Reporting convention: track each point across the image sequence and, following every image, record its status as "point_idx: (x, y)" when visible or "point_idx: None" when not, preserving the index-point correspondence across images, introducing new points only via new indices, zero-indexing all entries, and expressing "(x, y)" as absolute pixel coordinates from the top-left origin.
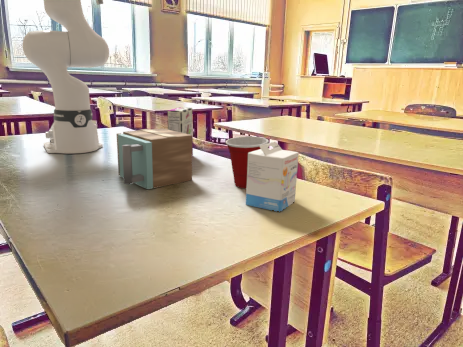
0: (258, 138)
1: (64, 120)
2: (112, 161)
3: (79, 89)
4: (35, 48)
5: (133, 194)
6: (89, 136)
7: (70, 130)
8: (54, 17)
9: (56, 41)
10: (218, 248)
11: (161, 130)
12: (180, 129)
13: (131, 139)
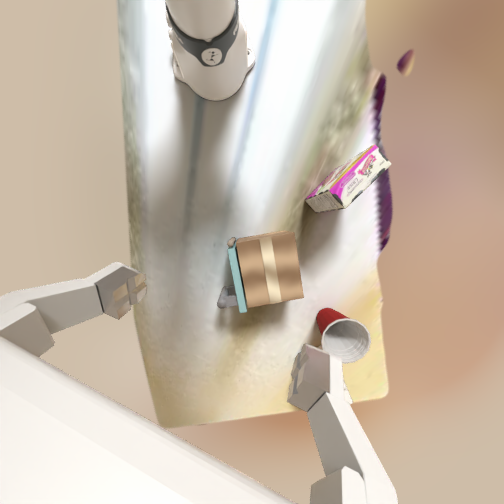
0: (367, 335)
1: (185, 49)
2: (243, 167)
3: None
4: None
5: None
6: (229, 74)
7: (198, 67)
8: None
9: None
10: (240, 403)
11: (285, 250)
12: (331, 209)
13: (234, 282)
